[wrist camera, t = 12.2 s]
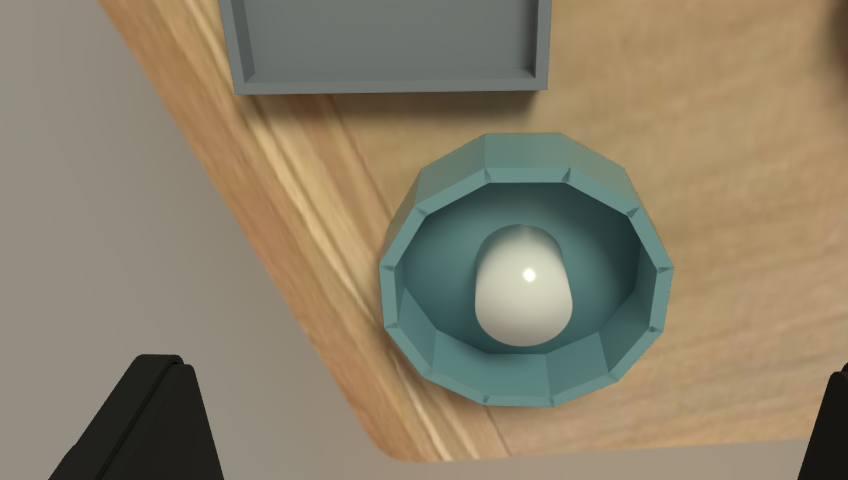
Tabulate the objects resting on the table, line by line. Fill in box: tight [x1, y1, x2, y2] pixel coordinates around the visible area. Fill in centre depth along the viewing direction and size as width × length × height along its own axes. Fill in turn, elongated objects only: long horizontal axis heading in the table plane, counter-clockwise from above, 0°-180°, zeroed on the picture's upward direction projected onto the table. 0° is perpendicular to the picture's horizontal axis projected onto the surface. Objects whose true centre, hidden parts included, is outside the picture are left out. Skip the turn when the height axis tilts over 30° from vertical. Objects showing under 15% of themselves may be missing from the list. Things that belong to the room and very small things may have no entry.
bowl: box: [379, 133, 674, 407], centre depth 39 cm, size 16×16×5 cm
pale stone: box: [475, 224, 572, 346], centre depth 39 cm, size 5×5×5 cm
